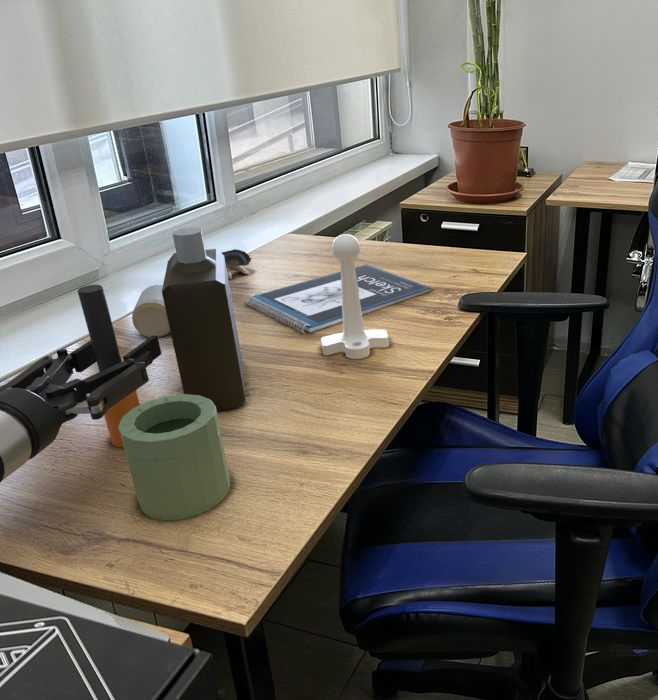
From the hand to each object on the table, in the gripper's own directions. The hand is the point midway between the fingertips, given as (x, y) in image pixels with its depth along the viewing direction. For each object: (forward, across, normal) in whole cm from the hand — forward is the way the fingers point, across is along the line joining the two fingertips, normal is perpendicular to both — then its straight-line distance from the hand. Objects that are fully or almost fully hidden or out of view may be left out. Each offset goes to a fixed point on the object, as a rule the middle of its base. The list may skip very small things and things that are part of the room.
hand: (132, 343), depth 95 cm
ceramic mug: (+30, -15, -12) cm, 36 cm away
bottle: (+10, +5, -12) cm, 17 cm away
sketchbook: (+49, +11, -12) cm, 52 cm away
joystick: (+26, +22, -12) cm, 36 cm away
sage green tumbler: (-15, +14, -12) cm, 24 cm away
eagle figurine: (+58, -17, -12) cm, 62 cm away
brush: (-5, 0, -12) cm, 13 cm away
